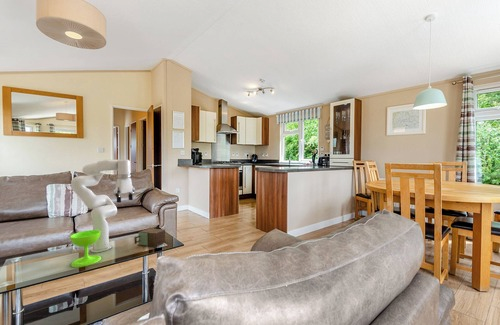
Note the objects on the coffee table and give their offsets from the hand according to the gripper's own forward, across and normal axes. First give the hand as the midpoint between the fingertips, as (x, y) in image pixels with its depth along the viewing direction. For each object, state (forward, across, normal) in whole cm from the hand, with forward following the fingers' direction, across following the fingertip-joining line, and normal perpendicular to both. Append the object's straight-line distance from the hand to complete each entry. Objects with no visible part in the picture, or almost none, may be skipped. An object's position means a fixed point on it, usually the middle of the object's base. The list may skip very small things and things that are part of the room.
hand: (124, 201), depth 159 cm
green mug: (+36, -12, +1) cm, 38 cm away
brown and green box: (+36, -20, +5) cm, 42 cm away
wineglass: (+37, +18, -14) cm, 43 cm away
